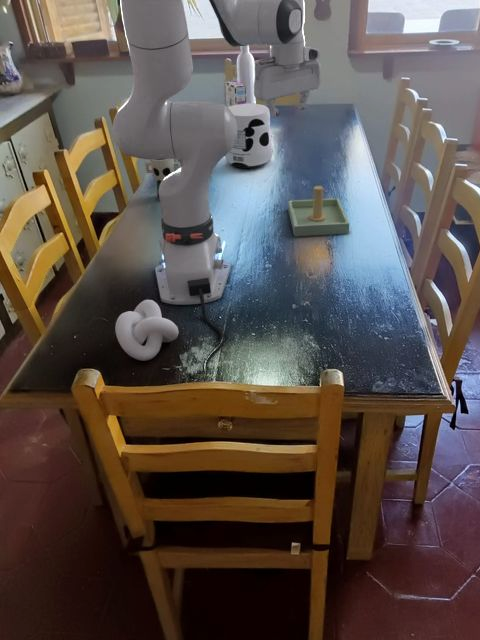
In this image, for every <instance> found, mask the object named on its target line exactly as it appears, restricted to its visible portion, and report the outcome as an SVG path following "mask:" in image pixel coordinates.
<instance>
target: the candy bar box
mask: <svg viewBox="0 0 480 640" xmlns="http://www.w3.org/2000/svg"><path fill="white" fill-rule="evenodd" d="M224 86H225V100H226V101H225V103H226V106H227V107H230V106H234V105H239V104H246V86H245V85H243V84H241V83H239V82H238V80H237V81H236V80H229V81H225V82H224Z"/></svg>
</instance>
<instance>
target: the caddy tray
mask: <svg viewBox="0 0 480 640" xmlns="http://www.w3.org/2000/svg"><path fill="white" fill-rule="evenodd" d="M312 198H313V199H296V200H295V199H294V200H288V202H287V211H288V215H289V219H290V224H291V228H292V232H293V236H294V237H309V236H327V235H329V236H330V235H345V234H346V235H347V234H349V233H350V221H349V219H348V216H347V214H346V212H345V209H344V207H343V205H342V203H341V202H342V201H341V200H340V198H339V197H333V198H331V197H330V198H324V186H323V185H315V186H314V187H313V197H312Z"/></svg>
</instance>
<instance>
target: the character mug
mask: <svg viewBox="0 0 480 640" xmlns="http://www.w3.org/2000/svg"><path fill="white" fill-rule="evenodd" d="M149 166H150V167H149ZM176 166H177V169H176ZM144 167H145V171H146V173H148V174H151V175H152V177H153V179H154V180H157V181H156V190H157V191H156V193H157V199H159V192H158V191H159V186H160V183H161V182H162V180H163V179H164V178H165V177H166V176H168V175H169V174H171V173H173V172H175V171H176V170H178V169H180V168H181V165H180V162H178V161H175V159H149V161H147V162H145V163H144ZM150 168H151V169H150Z"/></svg>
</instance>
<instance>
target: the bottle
mask: <svg viewBox="0 0 480 640" xmlns="http://www.w3.org/2000/svg"><path fill="white" fill-rule="evenodd" d="M254 68H255V59H254V56H253V54H252V53H251V52H250V45H247V46H240V53H239V54H238V55H237V58H236V75H237V77H236V78H237V82H239V83H241V84H243V85H245V86H246V104H257V101H256V100H257V99H256V98H255V96H254V77H255V70H254Z"/></svg>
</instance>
